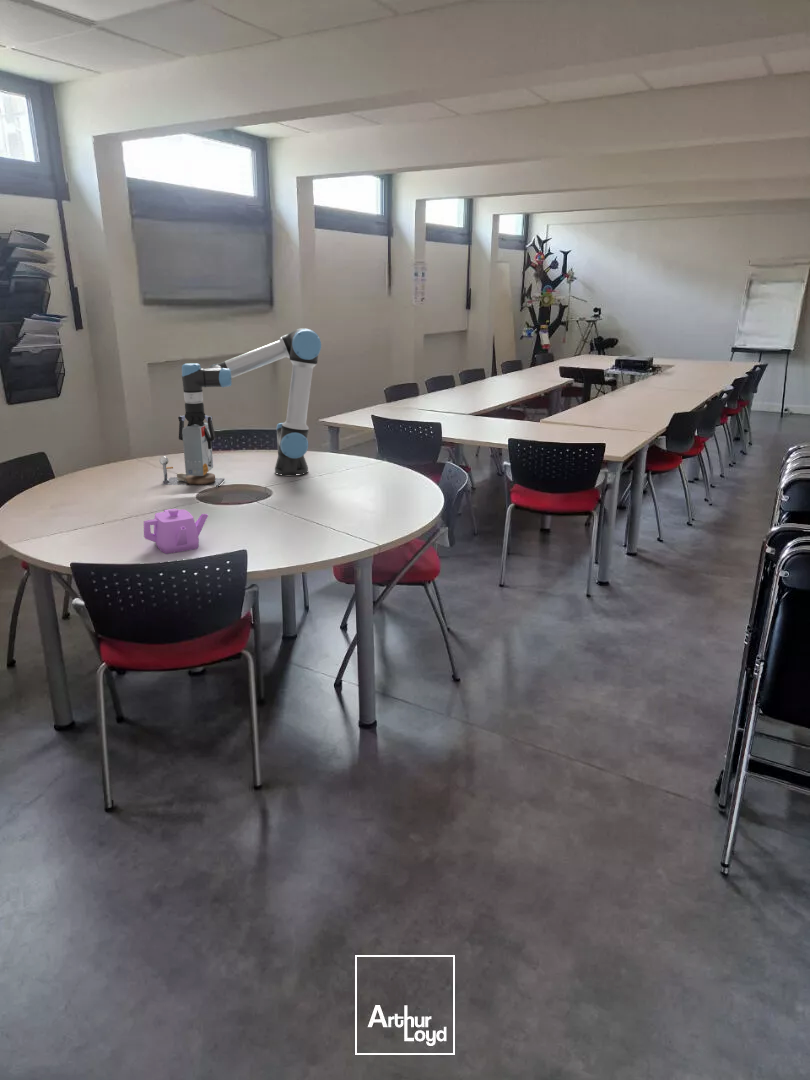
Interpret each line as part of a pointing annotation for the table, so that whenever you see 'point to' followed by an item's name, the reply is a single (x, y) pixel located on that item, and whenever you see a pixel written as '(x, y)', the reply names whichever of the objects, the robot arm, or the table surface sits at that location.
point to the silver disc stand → (165, 468)
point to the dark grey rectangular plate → (174, 482)
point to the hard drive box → (196, 450)
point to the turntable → (196, 478)
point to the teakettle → (174, 530)
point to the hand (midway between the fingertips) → (198, 456)
